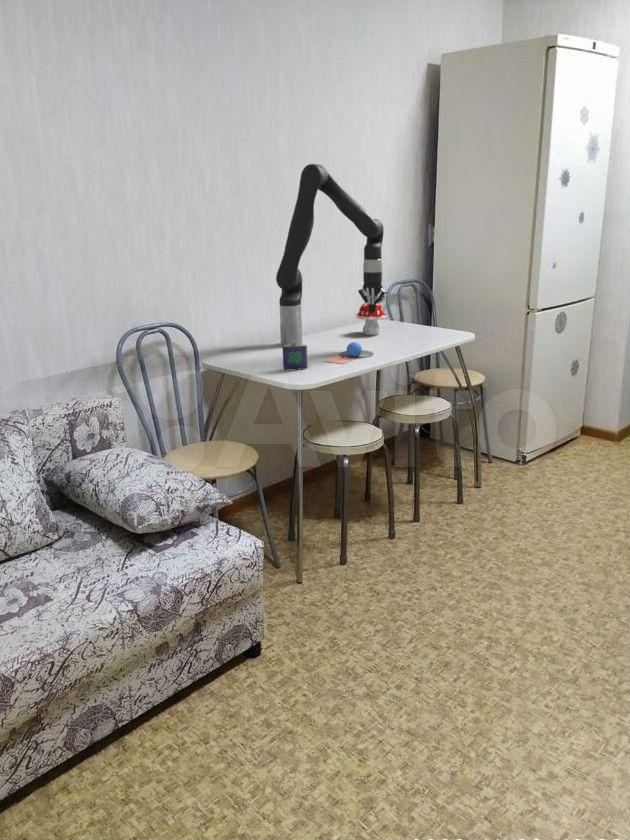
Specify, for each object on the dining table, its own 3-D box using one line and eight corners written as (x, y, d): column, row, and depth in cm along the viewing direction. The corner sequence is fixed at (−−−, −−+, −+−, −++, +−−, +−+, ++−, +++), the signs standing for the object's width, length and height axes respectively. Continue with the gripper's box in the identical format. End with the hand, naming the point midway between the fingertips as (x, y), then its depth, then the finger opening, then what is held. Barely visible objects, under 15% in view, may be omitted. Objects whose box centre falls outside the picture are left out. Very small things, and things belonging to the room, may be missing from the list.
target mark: (339, 358, 281) (339, 358, 281) (338, 351, 294) (338, 350, 294) (374, 357, 281) (374, 357, 281) (372, 350, 294) (372, 349, 294)
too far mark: (336, 356, 284) (336, 356, 284) (355, 359, 279) (355, 358, 279) (324, 361, 277) (324, 361, 277) (343, 364, 272) (343, 363, 272)
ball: (346, 359, 281) (346, 344, 279) (346, 354, 286) (346, 340, 284) (362, 358, 281) (361, 344, 278) (361, 354, 286) (361, 339, 284)
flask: (307, 367, 269) (306, 339, 266) (308, 369, 267) (307, 341, 263) (283, 368, 269) (281, 340, 265) (283, 370, 266) (282, 342, 263)
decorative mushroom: (387, 331, 332) (387, 298, 327) (385, 337, 319) (385, 303, 314) (357, 331, 334) (357, 299, 329) (354, 337, 321) (354, 303, 316)
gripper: (391, 270, 287) (391, 313, 292) (363, 268, 294) (363, 310, 300) (382, 272, 281) (381, 315, 286) (353, 270, 288) (354, 313, 294)
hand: (372, 313), depth 293 cm, fingers closed
